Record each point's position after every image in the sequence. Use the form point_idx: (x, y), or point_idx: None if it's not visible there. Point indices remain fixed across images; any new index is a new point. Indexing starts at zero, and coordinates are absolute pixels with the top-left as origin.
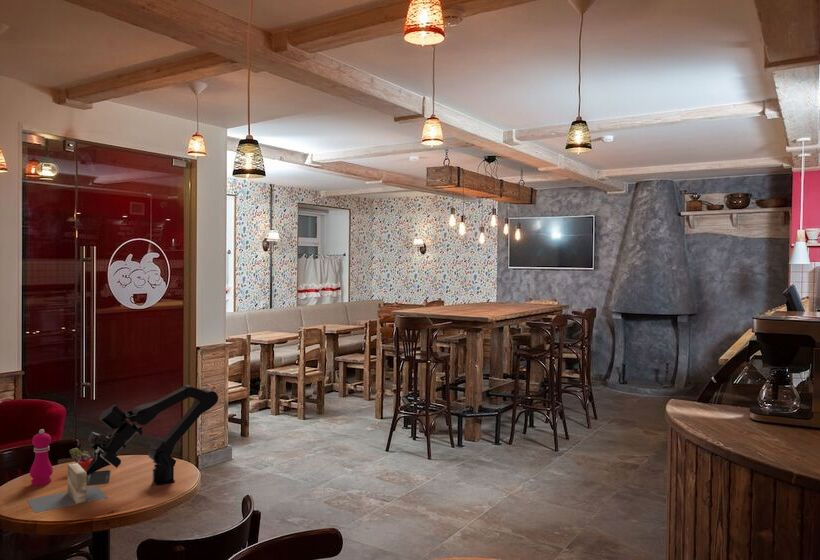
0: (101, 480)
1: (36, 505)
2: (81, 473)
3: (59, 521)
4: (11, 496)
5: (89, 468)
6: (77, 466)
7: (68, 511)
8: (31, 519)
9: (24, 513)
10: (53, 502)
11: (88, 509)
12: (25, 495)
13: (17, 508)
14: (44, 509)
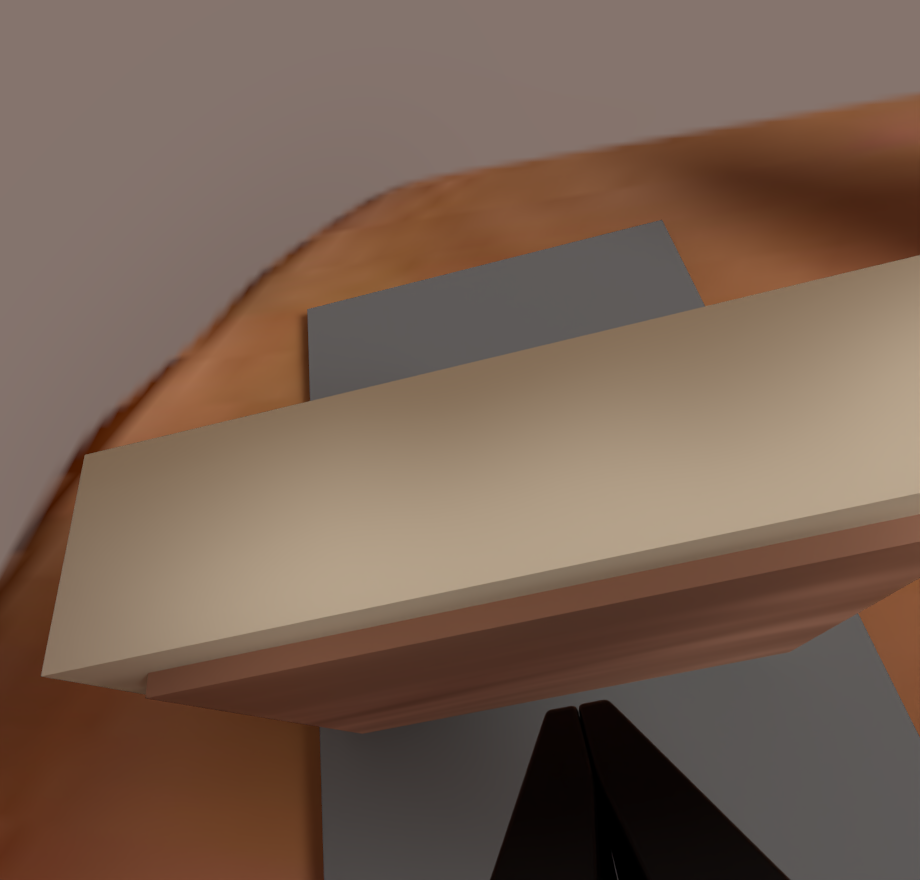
0: None
1: (475, 298)
2: (72, 557)
3: (63, 482)
4: (836, 131)
5: (509, 822)
6: (692, 461)
7: None
8: (240, 311)
9: (387, 259)
10: None
11: (155, 740)
12: (839, 204)
13: (519, 208)
14: (345, 359)
